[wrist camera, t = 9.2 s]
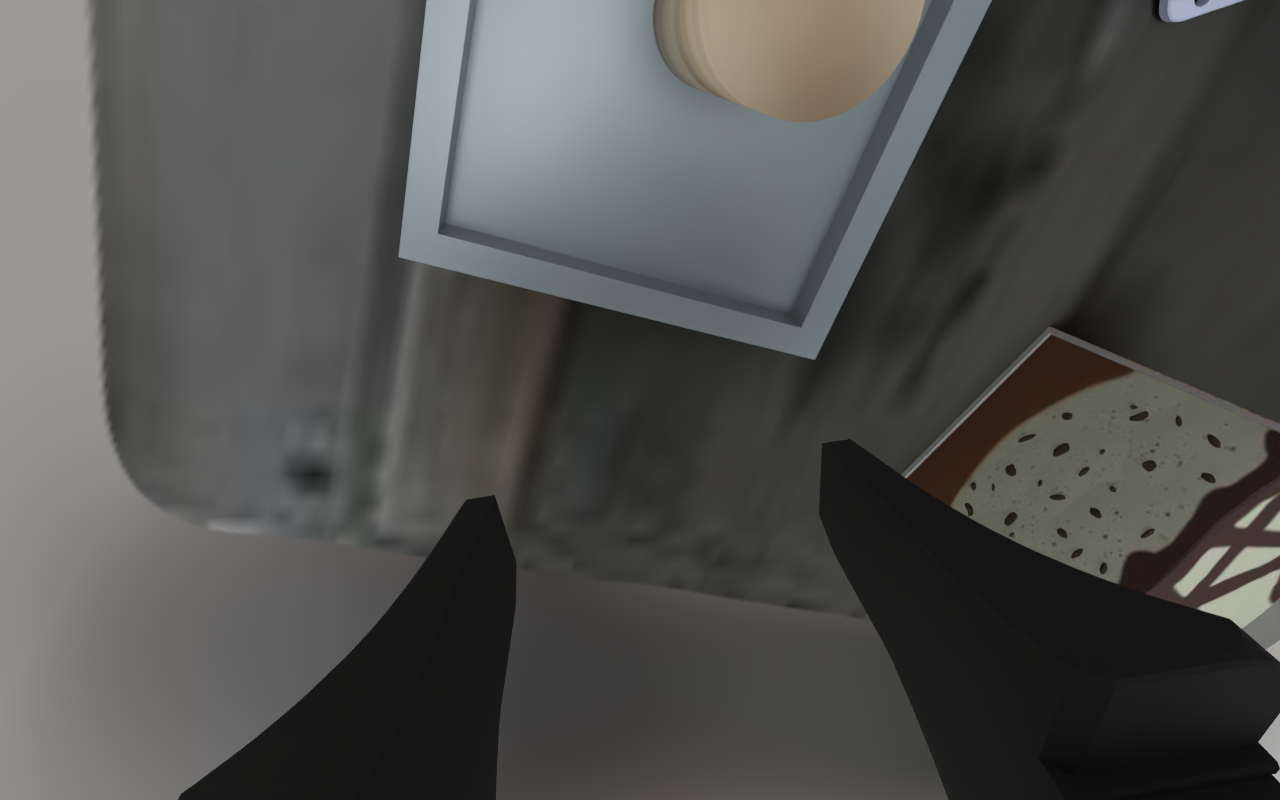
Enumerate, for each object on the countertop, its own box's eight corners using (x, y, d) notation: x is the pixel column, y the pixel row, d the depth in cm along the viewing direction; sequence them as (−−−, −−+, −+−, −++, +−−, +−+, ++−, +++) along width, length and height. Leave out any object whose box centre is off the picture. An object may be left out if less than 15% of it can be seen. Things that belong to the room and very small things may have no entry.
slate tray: (1014, -123, 16) (1061, -141, 15) (798, 338, 23) (814, 359, 21) (486, -386, 13) (475, -444, 11) (412, 239, 19) (398, 256, 18)
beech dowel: (761, -90, 15) (909, -195, 9) (796, 59, 17) (941, 69, 10) (632, -26, 16) (677, -78, 9) (679, 112, 18) (746, 156, 11)
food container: (950, 557, 30) (1101, 765, 21) (861, 513, 28) (990, 725, 19) (1167, 365, 25) (1475, 533, 17) (1080, 294, 23) (1382, 445, 14)
